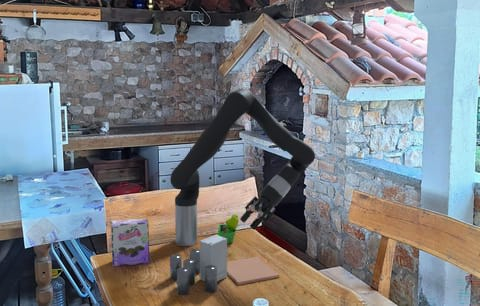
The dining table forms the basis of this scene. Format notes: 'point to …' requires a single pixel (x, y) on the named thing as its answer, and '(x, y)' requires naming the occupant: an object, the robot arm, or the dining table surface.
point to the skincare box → (213, 255)
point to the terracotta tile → (250, 270)
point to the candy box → (130, 242)
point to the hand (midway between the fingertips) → (246, 224)
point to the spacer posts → (191, 272)
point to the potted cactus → (229, 228)
